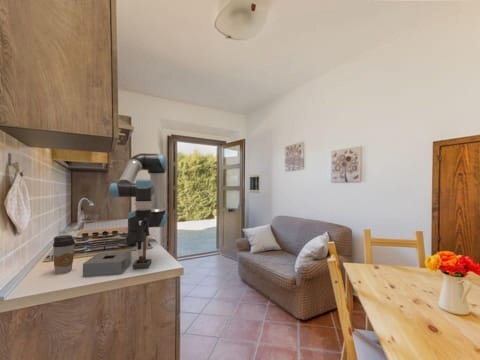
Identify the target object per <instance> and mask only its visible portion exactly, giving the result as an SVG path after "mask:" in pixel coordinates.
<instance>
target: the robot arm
mask: <svg viewBox="0 0 480 360" xmlns="http://www.w3.org/2000/svg"><path fill="white" fill-rule="evenodd" d="M166 157H167V156H166V155H165V154H162V153H138V154H135V155H134V156H132V157H130V158H129V159H128V160H127V162H126V165H125V166H126V167H125V168H124V171H123V173H122V174H121V176H120V178H119V180H118V181H117V182H112V183H110V185H109V188H108V193H109V196H111V197H112V198H135V202H134V208H135V210H133V211H129V212H128V214H127V234H126V236H125V239H124V244H125V245H127V244H137V245H136V257H139V256H143V234H144V232H146V250H147V249H149V237H150V235H151V234H150V228H163V227H165V226H166V223H167V217H168V211H167V210H166V207H164V175H165V174H166V171H168V161H167V158H166ZM140 171H147V174H149V177H150V179H148V178H147V179H145V178H140V179H139V178H137V176H138V173H139V172H140ZM136 178H137V179H136ZM135 180H136V181H135Z"/></svg>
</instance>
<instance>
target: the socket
mask: <svg viewBox="0 0 480 360" xmlns="http://www.w3.org/2000/svg"><path fill="white" fill-rule="evenodd" d="M151 265H152V258H146V263H139V259H135V261H134V262H133V264H132V269H131V270H133V271H134V270H149V269H150V266H151Z"/></svg>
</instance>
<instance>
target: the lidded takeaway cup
mask: <svg viewBox="0 0 480 360" xmlns="http://www.w3.org/2000/svg"><path fill="white" fill-rule="evenodd" d="M64 238H73V234H72V235H71V234H68V235H67V234H65V235H57V236H55V237H53V242H54V241H55V240H58V239H64ZM52 250H53V251H52V260H53V261H54V249H52Z"/></svg>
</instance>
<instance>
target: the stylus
mask: <svg viewBox="0 0 480 360" xmlns="http://www.w3.org/2000/svg"><path fill="white" fill-rule="evenodd" d="M146 257H147V249H146V232H144V234H143V256H138V260H139V263H146V259H147V258H146Z"/></svg>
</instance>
